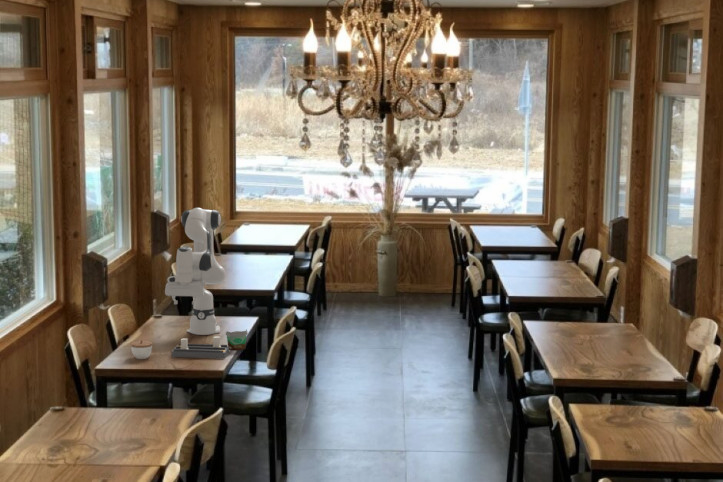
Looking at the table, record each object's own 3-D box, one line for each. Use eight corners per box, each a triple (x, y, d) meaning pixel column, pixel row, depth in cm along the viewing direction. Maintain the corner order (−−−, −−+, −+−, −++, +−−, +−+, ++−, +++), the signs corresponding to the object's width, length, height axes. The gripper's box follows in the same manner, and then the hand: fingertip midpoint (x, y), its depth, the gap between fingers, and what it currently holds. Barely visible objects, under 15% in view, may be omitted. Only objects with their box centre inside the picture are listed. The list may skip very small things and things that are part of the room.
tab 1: (181, 348, 562) (181, 338, 561) (188, 348, 562) (188, 338, 561) (179, 350, 559) (179, 339, 558) (187, 350, 559) (187, 339, 558)
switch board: (177, 350, 571) (177, 343, 570) (229, 352, 570) (229, 344, 569) (171, 356, 558) (171, 349, 557) (224, 358, 557) (224, 350, 556)
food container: (229, 352, 570) (229, 333, 568) (225, 349, 575) (225, 331, 574) (251, 349, 576) (251, 331, 574) (247, 347, 581) (247, 329, 579)
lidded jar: (149, 354, 563) (148, 336, 562) (154, 359, 554) (154, 341, 552) (128, 356, 558) (128, 338, 557) (134, 361, 549) (134, 343, 547)
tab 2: (213, 346, 568) (213, 336, 567) (221, 346, 568) (221, 336, 567) (212, 347, 565) (212, 337, 564) (220, 348, 565) (220, 337, 564)
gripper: (205, 277, 560) (205, 304, 562) (167, 276, 561) (167, 303, 563) (203, 279, 554) (203, 305, 555) (164, 278, 555) (164, 304, 556)
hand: (184, 304), depth 559 cm, fingers open, 8 cm apart
